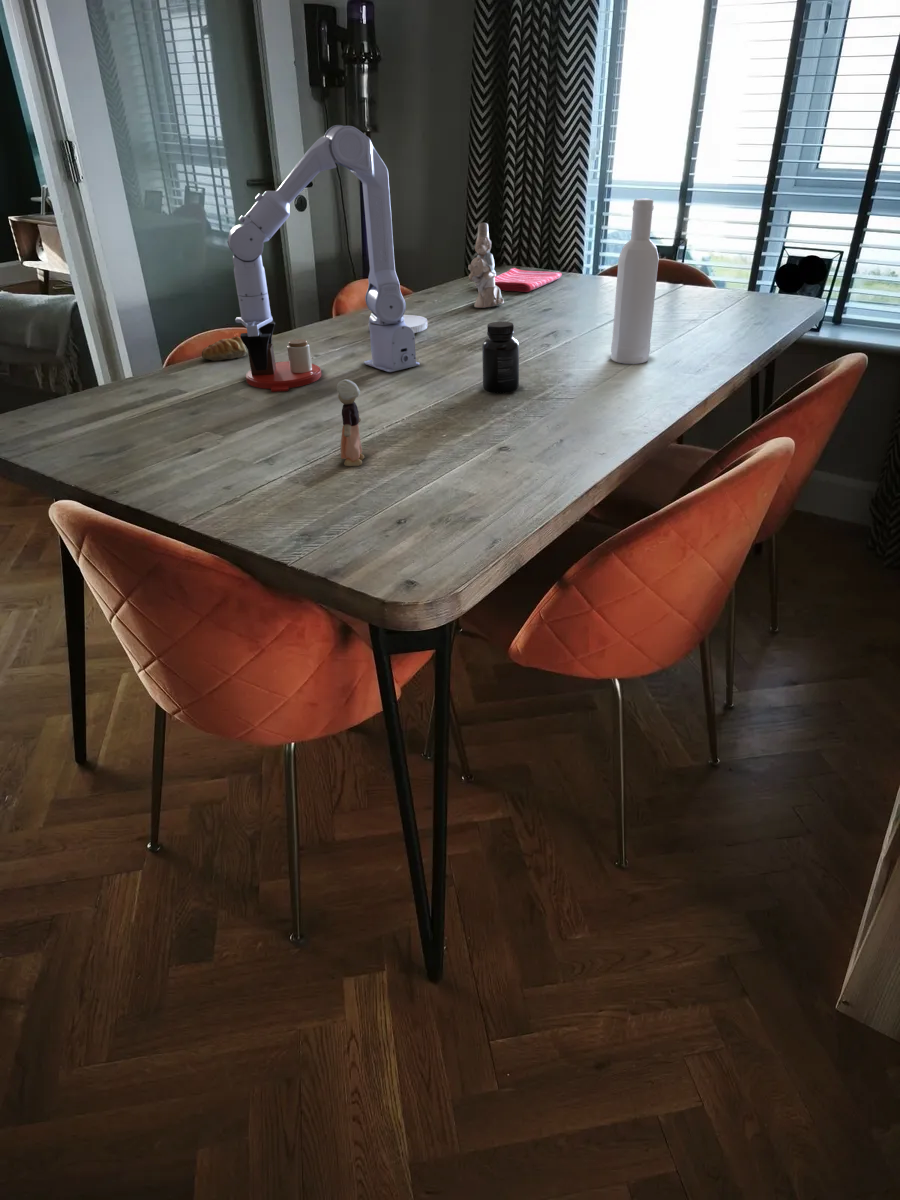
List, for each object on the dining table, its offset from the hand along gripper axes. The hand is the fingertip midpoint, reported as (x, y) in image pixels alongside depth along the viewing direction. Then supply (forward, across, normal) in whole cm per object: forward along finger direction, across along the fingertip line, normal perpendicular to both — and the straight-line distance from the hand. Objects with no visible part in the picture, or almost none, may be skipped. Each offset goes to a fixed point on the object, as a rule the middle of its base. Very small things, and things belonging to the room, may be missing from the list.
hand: (263, 364), depth 161 cm
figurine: (+3, -58, +52) cm, 78 cm away
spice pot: (+1, 0, +7) cm, 8 cm away
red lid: (+3, 0, +4) cm, 5 cm away
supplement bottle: (+3, +15, +46) cm, 48 cm away
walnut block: (+1, 0, 0) cm, 1 cm away
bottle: (+3, -1, +75) cm, 75 cm away
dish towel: (+3, -85, +66) cm, 108 cm away
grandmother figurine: (+3, +48, +19) cm, 51 cm away
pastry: (+3, -19, -11) cm, 22 cm away
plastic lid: (+3, -33, +28) cm, 44 cm away
